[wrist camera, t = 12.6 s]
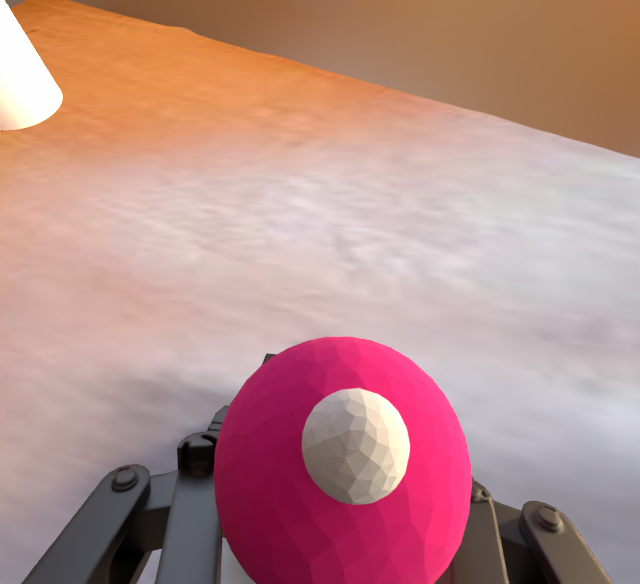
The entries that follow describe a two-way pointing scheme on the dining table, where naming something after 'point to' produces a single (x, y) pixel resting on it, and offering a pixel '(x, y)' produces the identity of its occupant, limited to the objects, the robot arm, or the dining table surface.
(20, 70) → the canister
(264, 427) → the pepper mill
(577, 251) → the dining table surface
